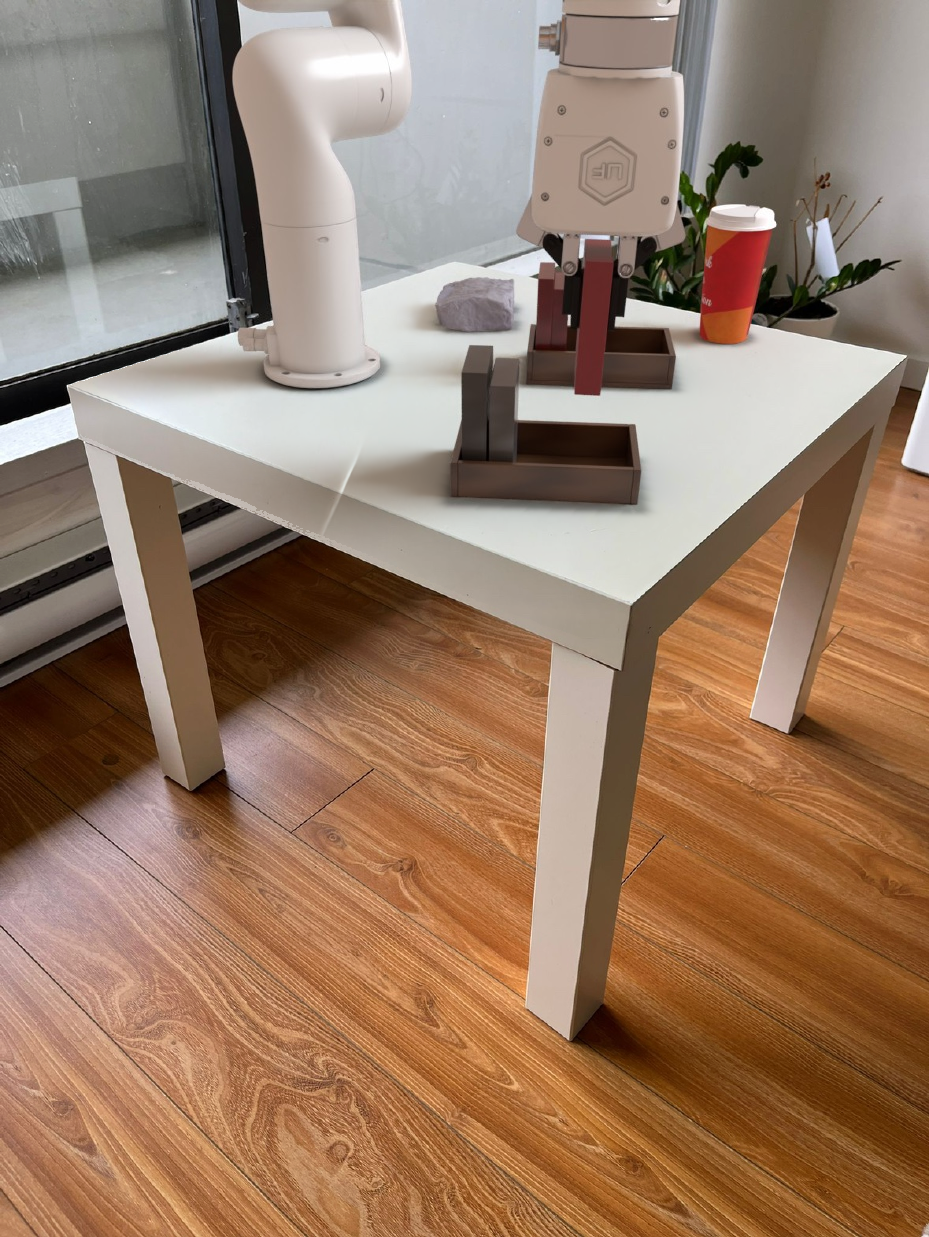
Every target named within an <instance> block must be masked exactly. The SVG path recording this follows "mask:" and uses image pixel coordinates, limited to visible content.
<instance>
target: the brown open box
mask: <svg viewBox="0 0 929 1237" xmlns="http://www.w3.org/2000/svg"><path fill="white" fill-rule="evenodd" d="M564 277H565V274H564V273H563V272H562V271H561V272H559V271H558V272H556V262H549V261H548V262H547V261H541V262H540V263H539V269H538V276H537V298H536V320H535V321H536V322H535V323H536V324H534V323H531V324H530V328H529V333H528V334H529V335H528V342H527V351H526V374H525V378H526V379H525V384H526V385H537V386H538V385H541V386H568V387H569V386H570V387H571V386H573V387H574V375H575V353H576V341H577V330H570V324H569V315H562V305H563V291H564ZM577 329H578V328H577ZM676 360H677V355H676V351H675V347H674V343H673V340H672V336H671V331H670V328H669V327H653V326H652V327H651V326H650V327H649V326H646V327H645V326H616V325H615V329H614V331H607V333H606V343H605V353H604V363H603V373H602V383H601V388H631V389H632V388H633V389H634V388H636V389H660V390H661V389H662V390H672V389H673V384H674V383H673V382H674V376H675V368H676Z"/></svg>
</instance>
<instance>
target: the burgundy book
mask: <svg viewBox="0 0 929 1237" xmlns="http://www.w3.org/2000/svg"><path fill="white" fill-rule="evenodd" d="M613 261H614V255H613V246H612V240H611V239H598V238H584V245H583V258H582V269H583V288H582V300H581V312H580V324H579V328H578V329H577V341H576V353H575V375H574V386H573V387H574V388H573V389H574V390H573V391H574V392H573V393H574V395H575V396H596V397H600V396H601V391H602V387H601V383H602V373H603V363H604V353H605V343H606V333H607V323H608V313H609V303H610V293H611V283H612V273H613Z"/></svg>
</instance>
